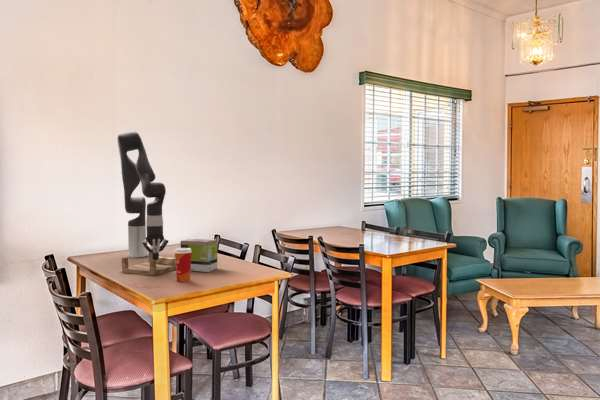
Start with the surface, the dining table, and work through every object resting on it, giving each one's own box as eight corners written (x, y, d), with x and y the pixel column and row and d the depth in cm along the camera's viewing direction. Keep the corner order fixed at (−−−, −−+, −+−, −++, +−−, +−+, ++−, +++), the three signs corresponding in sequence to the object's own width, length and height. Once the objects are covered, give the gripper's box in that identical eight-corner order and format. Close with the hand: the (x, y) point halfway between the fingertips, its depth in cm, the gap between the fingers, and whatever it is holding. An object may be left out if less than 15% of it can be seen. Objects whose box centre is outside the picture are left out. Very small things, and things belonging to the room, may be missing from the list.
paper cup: (176, 278, 215) (175, 247, 214) (193, 278, 216) (193, 247, 215) (172, 282, 207) (172, 250, 206) (191, 282, 208) (190, 250, 207)
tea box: (218, 268, 237) (217, 238, 236) (207, 272, 228) (207, 241, 227) (191, 266, 242) (191, 237, 241) (180, 270, 233) (179, 240, 232)
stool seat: (151, 264, 246) (151, 251, 246) (181, 267, 238) (181, 253, 238) (122, 272, 228) (121, 257, 228) (153, 276, 220) (152, 260, 220)
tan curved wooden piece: (149, 262, 240) (149, 255, 239) (153, 262, 242) (153, 254, 242) (174, 265, 234) (174, 257, 234) (177, 264, 236) (177, 256, 236)
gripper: (165, 222, 236) (166, 257, 238) (138, 224, 228) (139, 260, 230) (171, 224, 230) (171, 260, 231) (143, 226, 222) (144, 263, 224)
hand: (155, 260), depth 231 cm, fingers closed
